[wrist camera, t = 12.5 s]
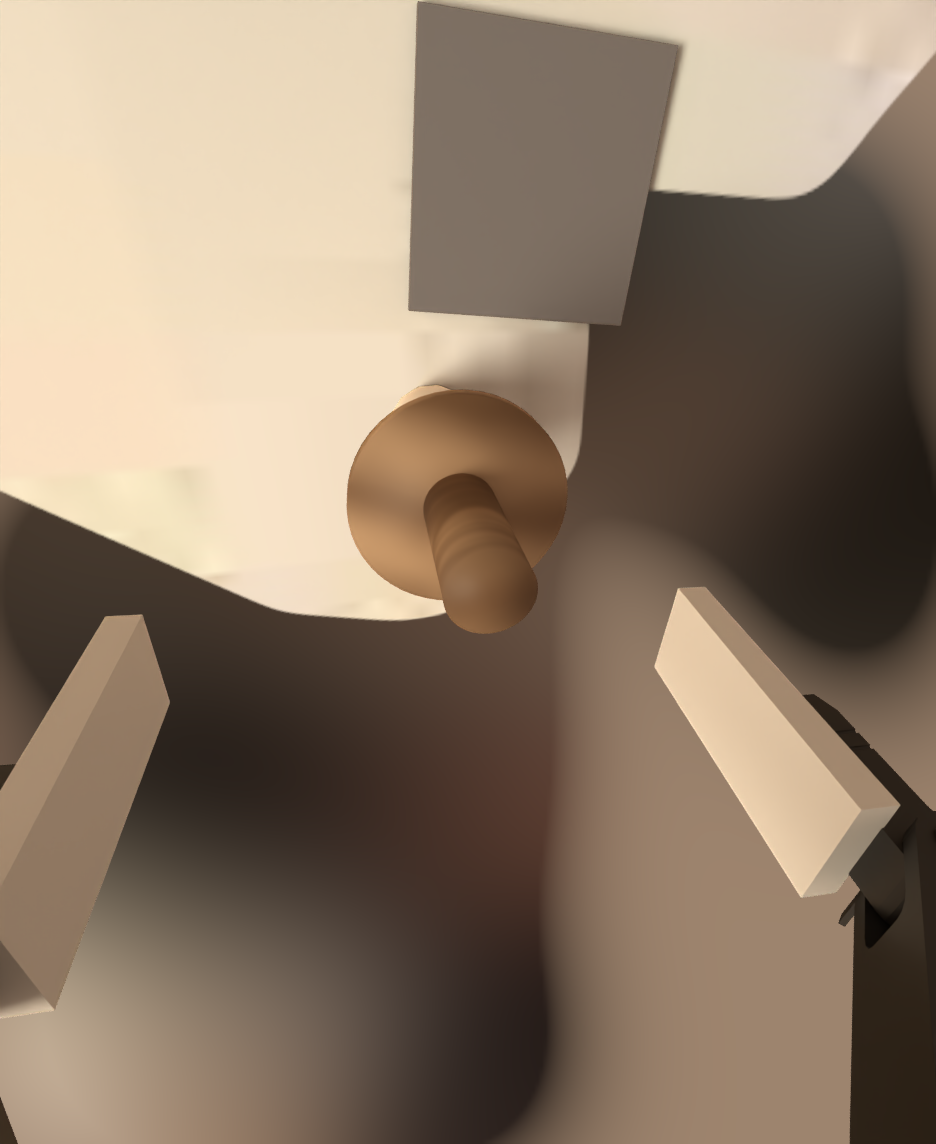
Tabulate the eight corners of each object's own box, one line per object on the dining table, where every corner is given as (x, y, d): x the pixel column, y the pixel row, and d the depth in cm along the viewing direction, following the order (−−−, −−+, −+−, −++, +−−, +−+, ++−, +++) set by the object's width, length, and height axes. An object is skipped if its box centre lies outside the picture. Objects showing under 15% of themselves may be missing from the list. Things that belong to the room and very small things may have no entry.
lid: (344, 384, 28) (338, 452, 20) (578, 394, 30) (661, 460, 22) (349, 591, 34) (347, 709, 26) (543, 587, 36) (597, 694, 28)
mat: (417, 4, 31) (417, 1, 30) (673, 48, 33) (678, 45, 33) (408, 309, 38) (409, 310, 38) (617, 324, 41) (620, 325, 41)
